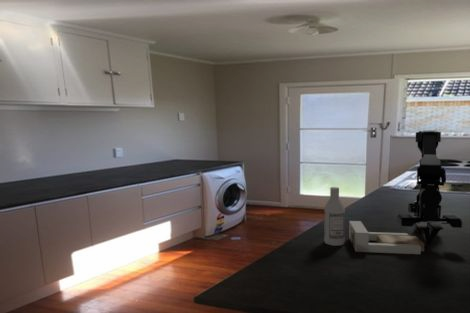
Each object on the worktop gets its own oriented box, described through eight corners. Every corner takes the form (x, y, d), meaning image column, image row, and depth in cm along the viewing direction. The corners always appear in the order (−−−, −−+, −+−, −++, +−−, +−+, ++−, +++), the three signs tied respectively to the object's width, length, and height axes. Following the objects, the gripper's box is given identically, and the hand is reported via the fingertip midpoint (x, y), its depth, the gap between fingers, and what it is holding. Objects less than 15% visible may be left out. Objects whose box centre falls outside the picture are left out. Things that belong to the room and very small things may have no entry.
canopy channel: (406, 240, 125) (407, 222, 125) (420, 254, 111) (421, 234, 111) (349, 238, 129) (349, 220, 128) (355, 251, 115) (356, 232, 114)
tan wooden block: (415, 244, 122) (415, 235, 122) (424, 252, 114) (424, 243, 114) (376, 243, 124) (376, 234, 124) (382, 250, 116) (382, 242, 116)
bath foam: (348, 244, 122) (349, 188, 120) (333, 247, 119) (333, 190, 117) (335, 238, 128) (335, 185, 127) (320, 241, 125) (320, 187, 124)
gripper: (448, 195, 122) (447, 238, 124) (392, 195, 126) (391, 237, 127) (464, 202, 112) (462, 249, 113) (402, 201, 115) (401, 247, 116)
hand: (427, 245), depth 117 cm, fingers closed
